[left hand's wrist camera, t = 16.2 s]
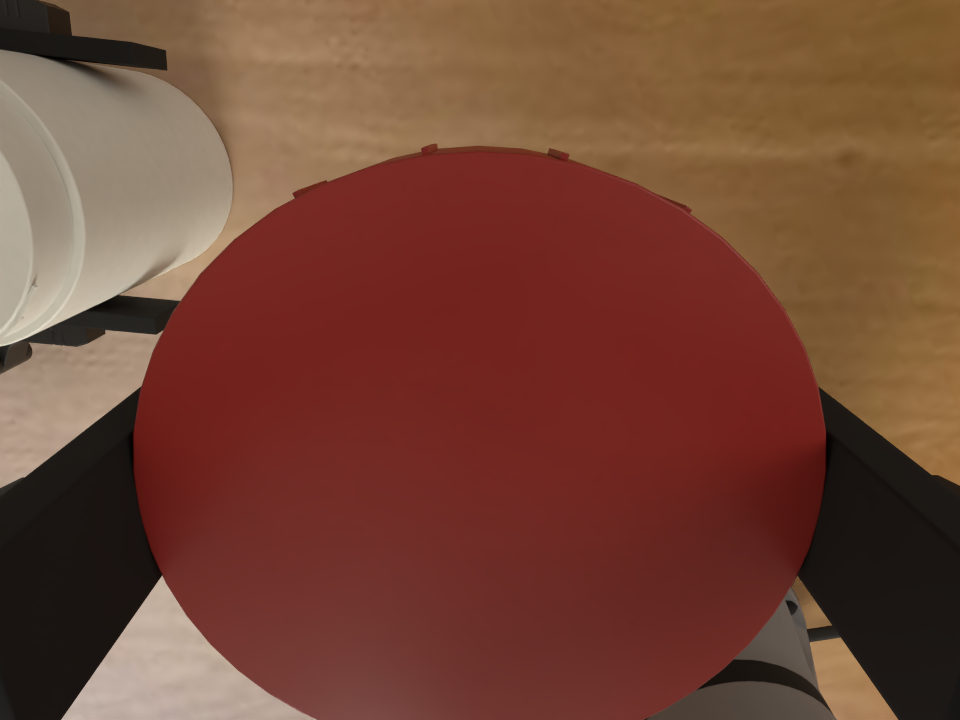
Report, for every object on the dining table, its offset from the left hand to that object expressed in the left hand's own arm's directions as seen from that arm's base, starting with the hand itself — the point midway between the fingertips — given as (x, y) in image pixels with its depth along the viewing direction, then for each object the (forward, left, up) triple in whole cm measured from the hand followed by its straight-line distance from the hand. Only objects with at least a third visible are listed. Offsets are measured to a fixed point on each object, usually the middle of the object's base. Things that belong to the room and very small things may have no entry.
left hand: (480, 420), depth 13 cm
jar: (+18, 0, -22) cm, 28 cm away
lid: (0, 0, +3) cm, 3 cm away
